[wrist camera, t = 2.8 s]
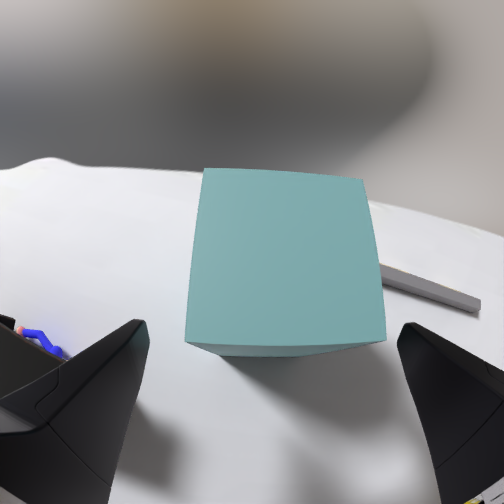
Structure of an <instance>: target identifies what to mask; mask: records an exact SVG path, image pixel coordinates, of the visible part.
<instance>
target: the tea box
mask: <svg viewBox="0 0 504 504" xmlns="http://www.w3.org/2000/svg"><path fill="white" fill-rule="evenodd" d="M386 340H387V337H386V321H385V309H384V299H383V290H382V281H381V273H380V266H379V259H378V253H377V247H376V241H375V235H374V230H373V225H372V219H371V215H370V210H369V205H368V201H367V196H366V192H365V188H364V184H363V180H362V179H355V178H347V177H339V176H330V175H320V174H311V173H310V174H309V173H300V172H286V171H273V170H255V169H227V168H204V173H203V179H202V186H201V192H200V199H199V206H198V213H197V220H196V228H195V236H194V244H193V252H192V261H191V271H190V281H189V291H188V302H187V315H186V328H185V342H187V343H189V344H192V345H194V346H196V347H199V348H201V349H204V350H206V351H209V352H211V353H214V354H216V355H220V356H243V357H300V356H307V355H314V354H320V353H326V352H332V351H338V350H343V349H349V348H354V347H359V346H363V345H368V344H373V343H377V342H382V341H386Z"/></svg>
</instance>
